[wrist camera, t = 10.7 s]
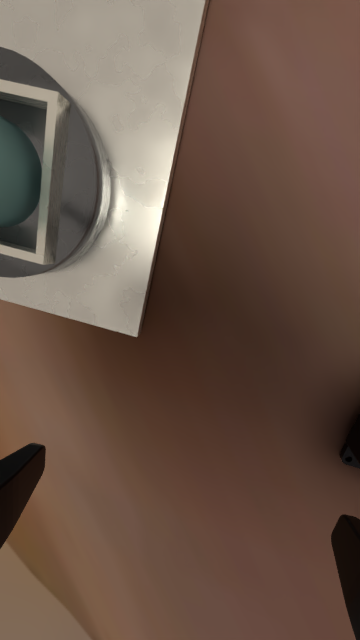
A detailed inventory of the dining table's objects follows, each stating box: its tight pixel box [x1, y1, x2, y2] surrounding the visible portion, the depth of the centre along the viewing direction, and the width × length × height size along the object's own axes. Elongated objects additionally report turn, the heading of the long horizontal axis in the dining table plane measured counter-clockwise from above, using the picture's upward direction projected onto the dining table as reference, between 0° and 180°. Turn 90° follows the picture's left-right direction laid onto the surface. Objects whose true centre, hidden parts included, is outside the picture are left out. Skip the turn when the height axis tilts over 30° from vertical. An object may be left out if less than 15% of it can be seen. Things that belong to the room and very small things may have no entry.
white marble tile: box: [0, 0, 209, 337], centre depth 16 cm, size 17×22×5 cm
